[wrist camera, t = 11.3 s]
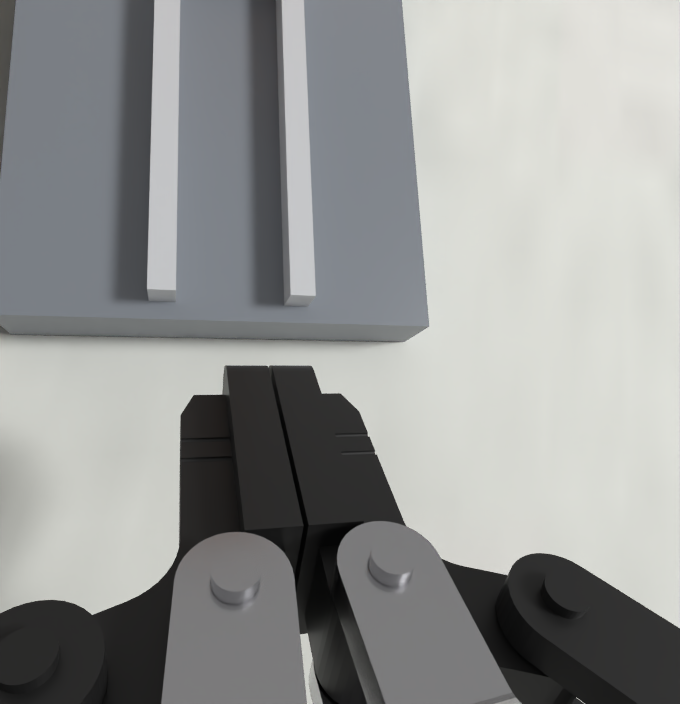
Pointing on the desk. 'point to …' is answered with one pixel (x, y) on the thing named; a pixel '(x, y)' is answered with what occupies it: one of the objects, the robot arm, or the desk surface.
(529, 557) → the robot arm
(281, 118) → the fader console
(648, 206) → the desk surface
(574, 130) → the desk surface
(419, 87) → the desk surface
